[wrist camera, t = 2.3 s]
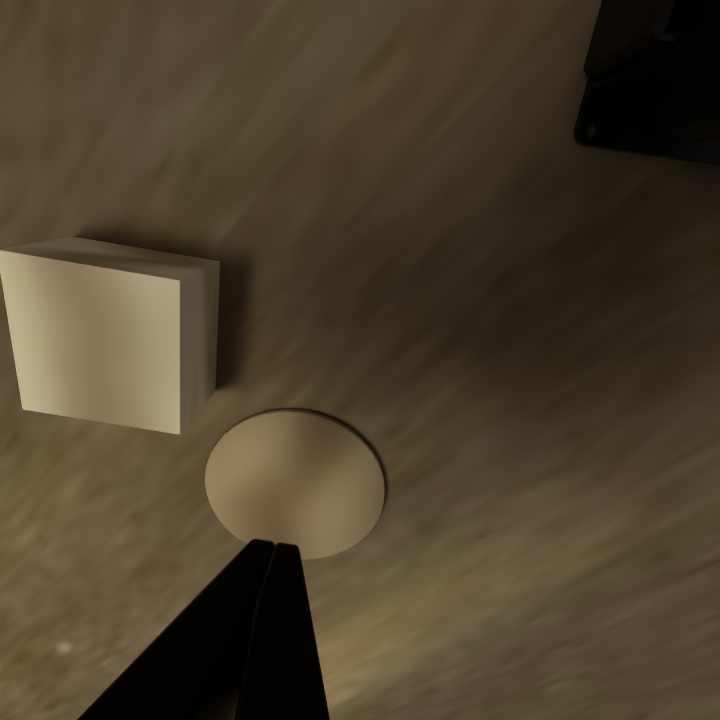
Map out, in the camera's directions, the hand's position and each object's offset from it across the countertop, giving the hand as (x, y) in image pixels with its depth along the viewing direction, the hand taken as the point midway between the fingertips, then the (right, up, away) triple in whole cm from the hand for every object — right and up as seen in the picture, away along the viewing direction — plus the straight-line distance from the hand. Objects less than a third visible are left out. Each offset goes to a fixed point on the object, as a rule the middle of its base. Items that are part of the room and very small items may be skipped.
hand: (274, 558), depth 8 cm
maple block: (-8, +5, +11) cm, 15 cm away
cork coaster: (-2, -3, +14) cm, 14 cm away
